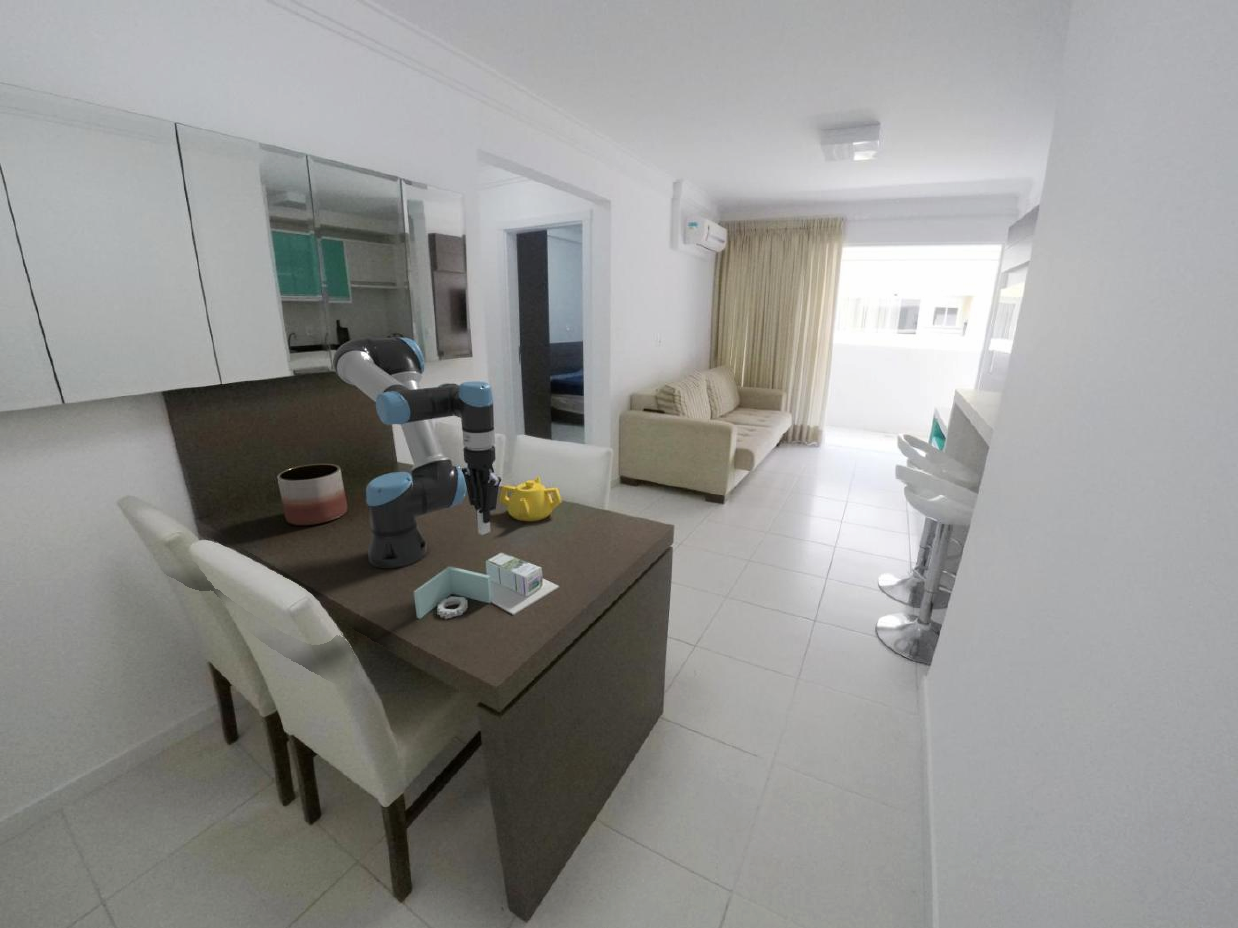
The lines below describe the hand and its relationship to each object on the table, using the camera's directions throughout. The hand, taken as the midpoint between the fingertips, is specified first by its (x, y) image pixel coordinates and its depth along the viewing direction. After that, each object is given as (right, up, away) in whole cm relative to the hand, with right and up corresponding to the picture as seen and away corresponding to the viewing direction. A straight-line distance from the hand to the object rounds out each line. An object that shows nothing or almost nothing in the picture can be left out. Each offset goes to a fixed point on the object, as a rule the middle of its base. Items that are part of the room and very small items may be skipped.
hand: (484, 532), depth 126 cm
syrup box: (+2, -9, +1) cm, 9 cm away
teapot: (+5, 0, +41) cm, 41 cm away
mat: (+9, -14, -4) cm, 17 cm away
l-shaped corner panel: (-3, -17, -12) cm, 21 cm away
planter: (-66, 0, +36) cm, 75 cm away
